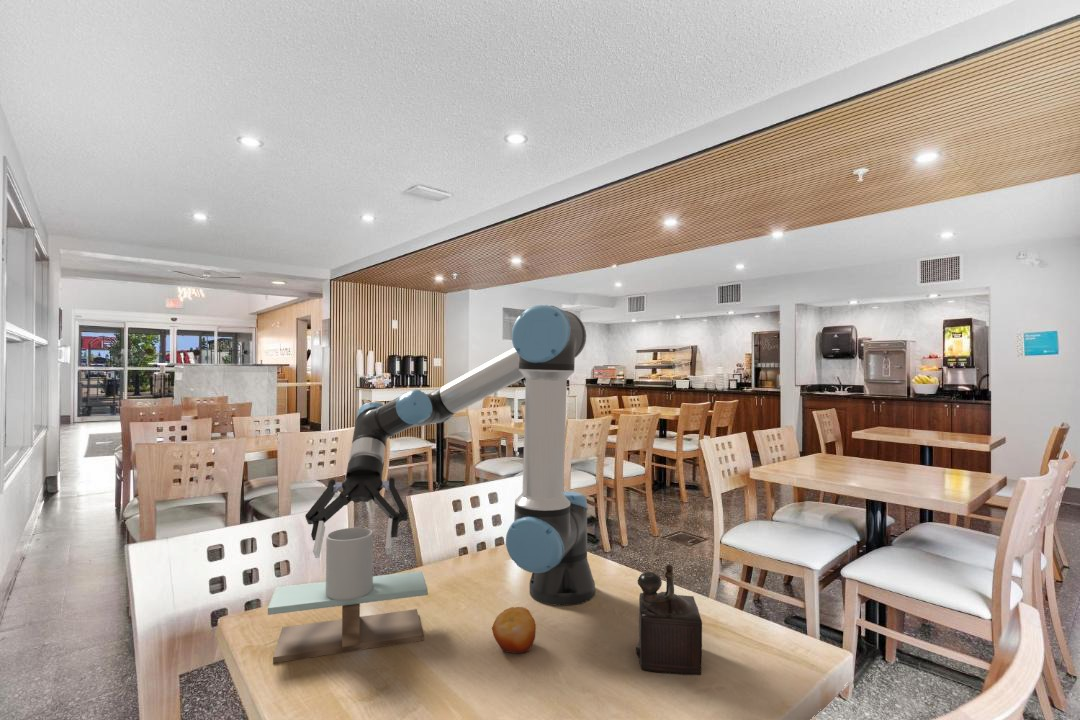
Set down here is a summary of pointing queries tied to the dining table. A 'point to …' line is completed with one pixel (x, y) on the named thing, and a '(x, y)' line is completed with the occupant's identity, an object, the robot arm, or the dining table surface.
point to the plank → (316, 598)
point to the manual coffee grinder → (668, 628)
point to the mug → (349, 563)
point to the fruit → (514, 630)
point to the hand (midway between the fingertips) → (352, 553)
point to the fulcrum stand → (347, 634)
